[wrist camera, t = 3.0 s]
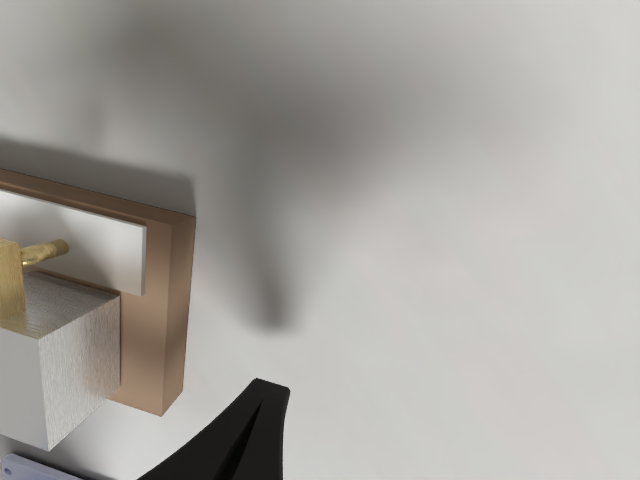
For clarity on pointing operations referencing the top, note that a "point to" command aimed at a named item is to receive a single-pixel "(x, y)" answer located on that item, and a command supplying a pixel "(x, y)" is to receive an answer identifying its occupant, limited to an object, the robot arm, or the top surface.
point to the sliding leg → (52, 347)
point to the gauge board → (115, 272)
